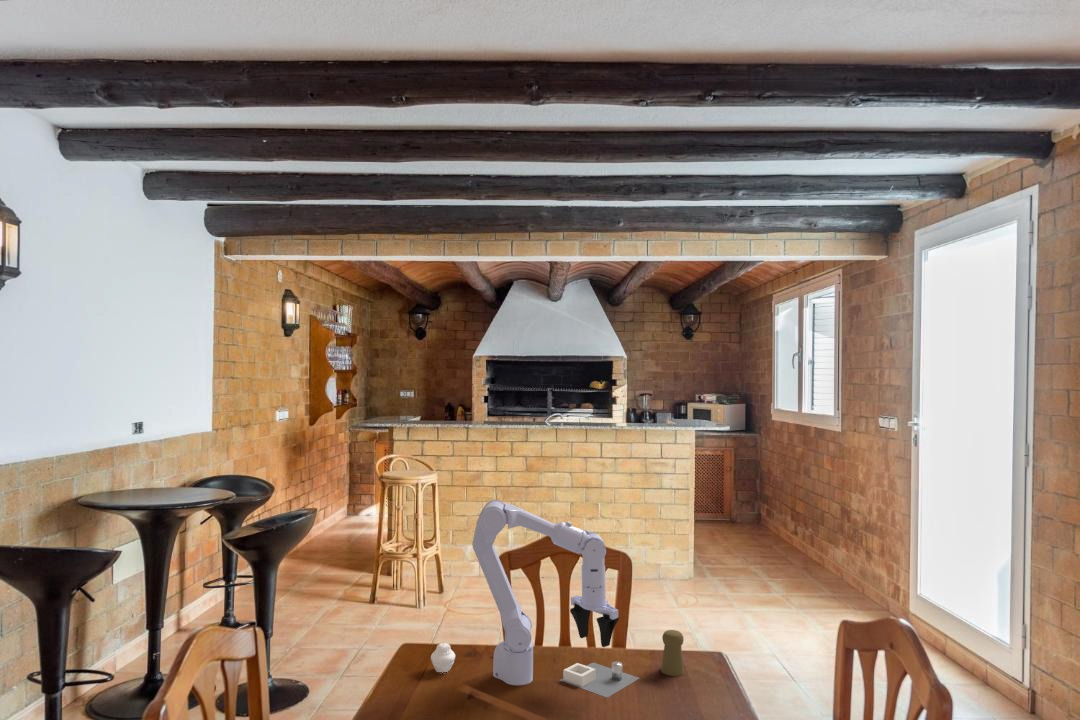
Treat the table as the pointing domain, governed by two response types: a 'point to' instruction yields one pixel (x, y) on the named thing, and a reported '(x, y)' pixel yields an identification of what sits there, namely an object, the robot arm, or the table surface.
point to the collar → (579, 674)
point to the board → (605, 681)
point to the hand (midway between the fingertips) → (594, 641)
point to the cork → (672, 653)
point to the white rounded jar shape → (443, 658)
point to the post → (617, 671)
